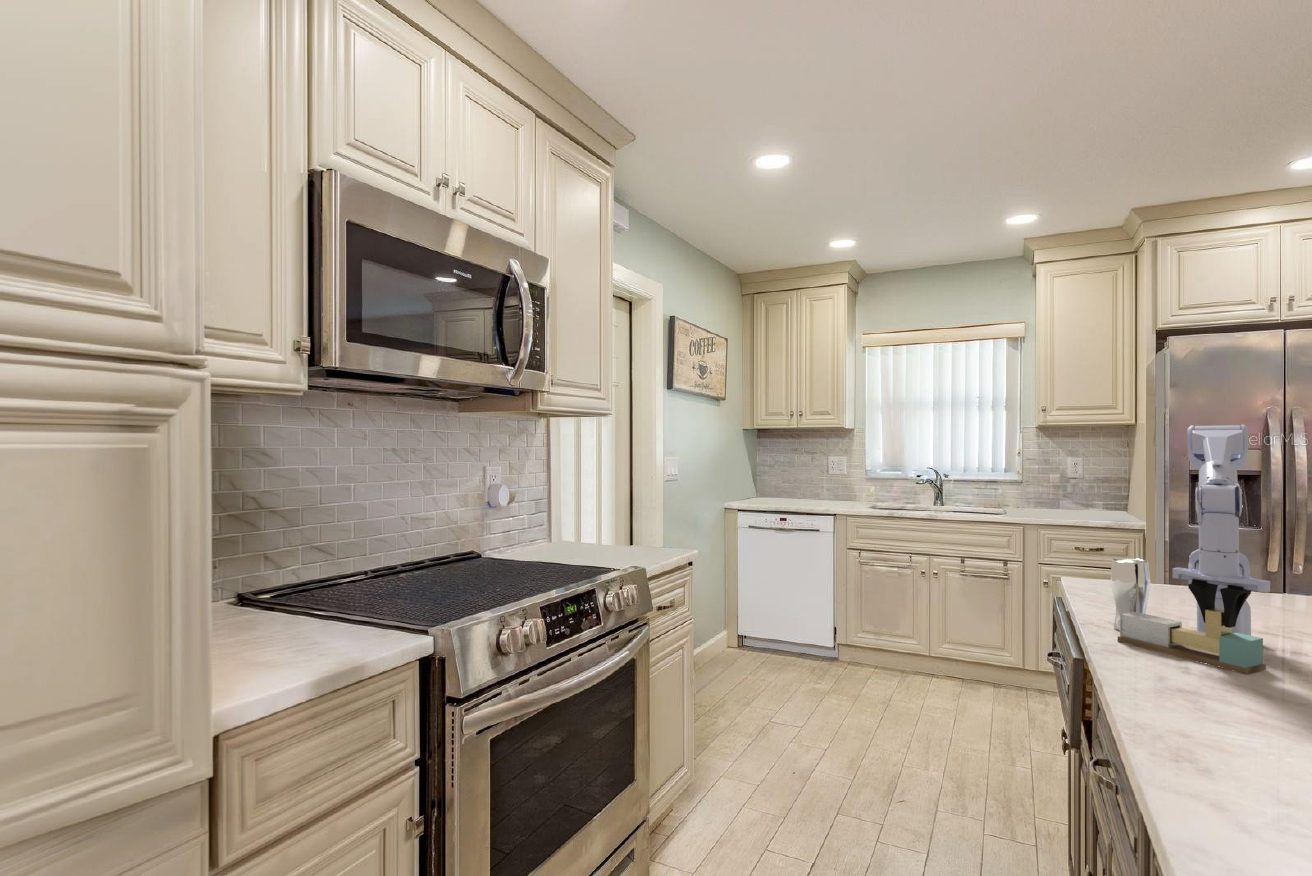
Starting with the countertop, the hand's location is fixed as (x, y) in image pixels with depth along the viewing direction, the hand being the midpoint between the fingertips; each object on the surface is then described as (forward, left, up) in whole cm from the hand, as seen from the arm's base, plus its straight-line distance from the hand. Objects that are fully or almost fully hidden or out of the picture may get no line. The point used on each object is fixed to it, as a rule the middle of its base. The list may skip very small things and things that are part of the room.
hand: (1219, 624), depth 126 cm
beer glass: (-8, -20, -7) cm, 23 cm away
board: (0, -5, -7) cm, 9 cm away
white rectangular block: (0, -12, -6) cm, 13 cm away
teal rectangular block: (0, +3, -6) cm, 7 cm away
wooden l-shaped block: (0, -3, -5) cm, 6 cm away
